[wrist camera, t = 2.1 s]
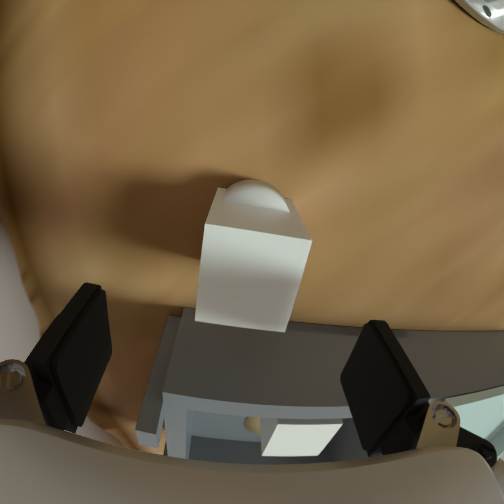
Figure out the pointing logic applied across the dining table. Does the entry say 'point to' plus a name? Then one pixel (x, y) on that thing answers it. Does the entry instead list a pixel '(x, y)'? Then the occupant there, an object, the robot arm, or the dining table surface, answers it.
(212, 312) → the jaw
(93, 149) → the dining table surface
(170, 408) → the housing
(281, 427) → the block
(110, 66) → the dining table surface
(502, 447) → the lid
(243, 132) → the dining table surface
